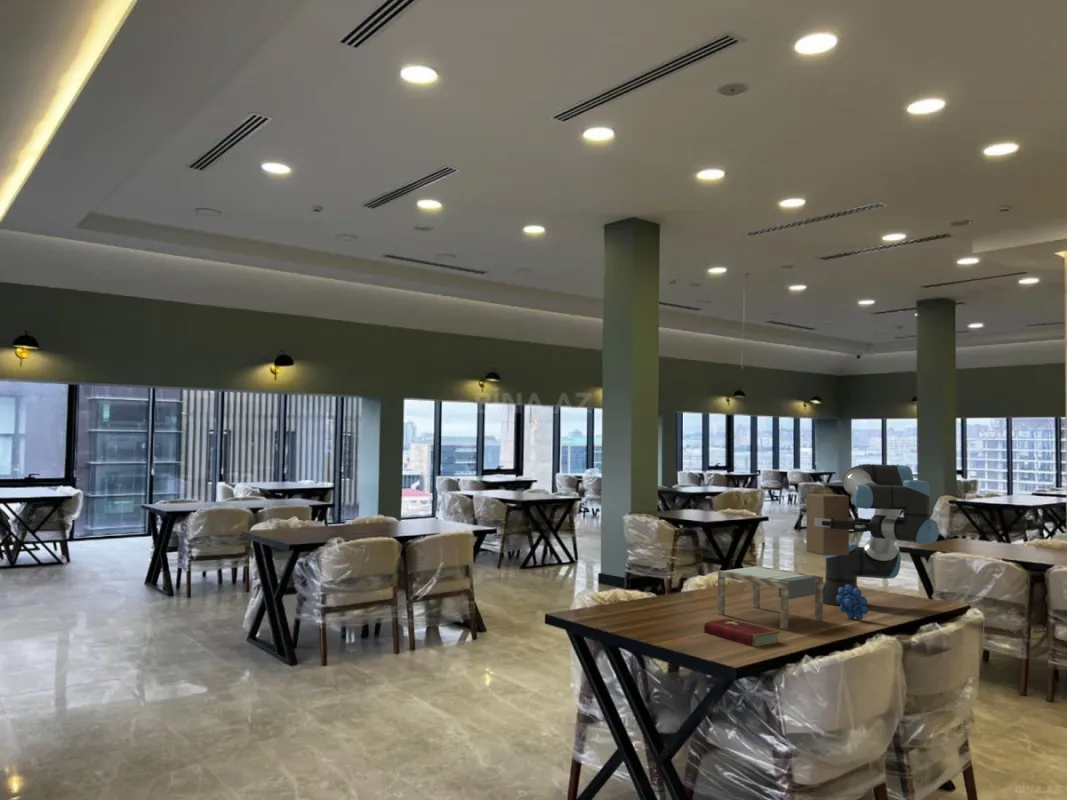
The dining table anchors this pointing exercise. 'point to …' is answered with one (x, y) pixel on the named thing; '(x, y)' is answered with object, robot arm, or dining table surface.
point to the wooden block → (824, 537)
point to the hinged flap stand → (774, 583)
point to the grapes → (852, 602)
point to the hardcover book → (741, 632)
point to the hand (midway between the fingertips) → (825, 521)
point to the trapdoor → (797, 583)
